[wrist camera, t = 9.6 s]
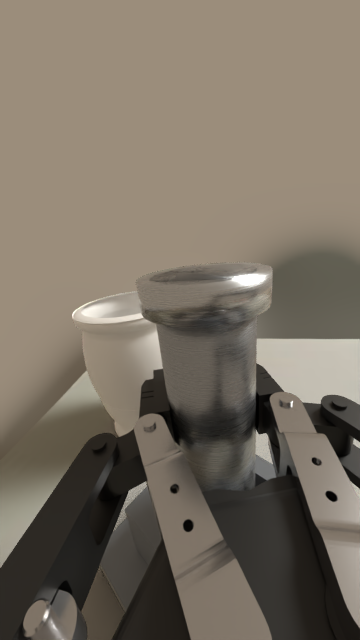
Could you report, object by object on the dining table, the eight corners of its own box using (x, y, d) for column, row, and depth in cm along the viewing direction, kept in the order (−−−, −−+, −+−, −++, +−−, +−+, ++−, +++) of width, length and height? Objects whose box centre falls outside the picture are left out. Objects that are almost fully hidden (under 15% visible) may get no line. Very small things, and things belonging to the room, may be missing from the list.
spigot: (211, 475, 18) (193, 262, 12) (277, 525, 14) (294, 262, 9) (164, 536, 14) (109, 283, 9) (235, 620, 11) (218, 295, 5)
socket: (206, 448, 24) (202, 401, 21) (348, 544, 16) (364, 485, 13) (100, 569, 16) (77, 514, 14) (274, 887, 8) (284, 877, 6)
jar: (200, 395, 31) (190, 287, 26) (179, 466, 22) (156, 322, 17) (131, 387, 35) (109, 290, 29) (87, 447, 25) (44, 321, 20)
